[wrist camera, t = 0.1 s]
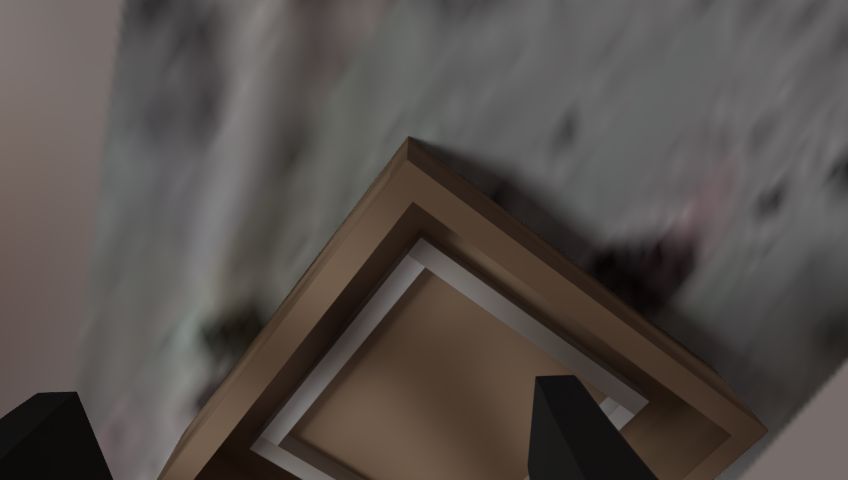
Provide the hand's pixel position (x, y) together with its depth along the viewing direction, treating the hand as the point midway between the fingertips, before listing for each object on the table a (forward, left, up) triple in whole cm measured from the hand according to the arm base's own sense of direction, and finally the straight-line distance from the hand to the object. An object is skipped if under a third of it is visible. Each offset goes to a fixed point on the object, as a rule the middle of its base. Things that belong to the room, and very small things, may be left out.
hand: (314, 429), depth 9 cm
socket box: (-4, -6, -11) cm, 13 cm away
